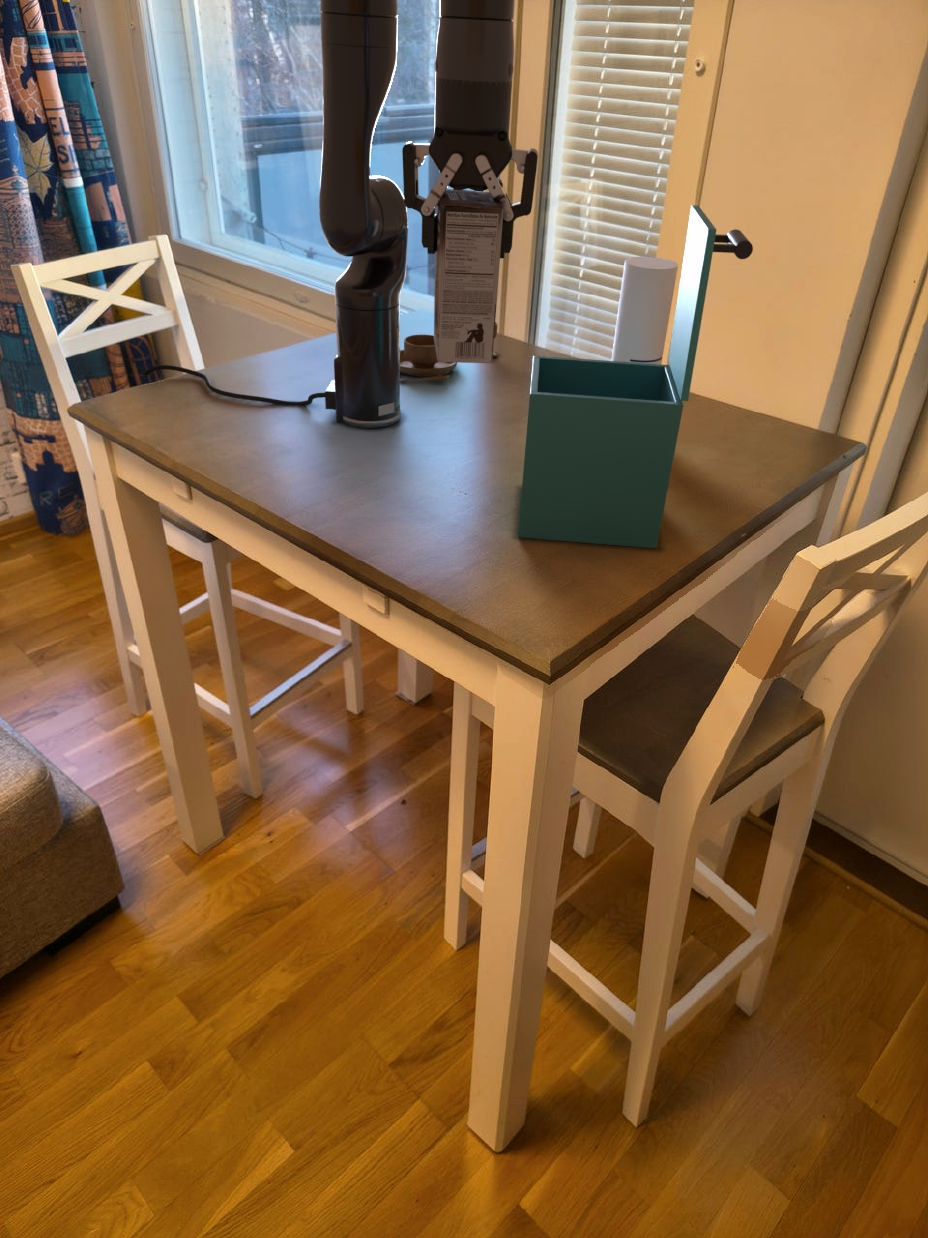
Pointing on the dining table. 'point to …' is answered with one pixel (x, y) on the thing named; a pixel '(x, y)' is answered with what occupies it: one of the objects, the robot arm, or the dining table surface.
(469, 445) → the dining table surface
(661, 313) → the cylindrical container
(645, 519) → the teal open box
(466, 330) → the coffee box
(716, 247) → the cool box lid
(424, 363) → the place setting
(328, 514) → the dining table surface
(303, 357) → the dining table surface
